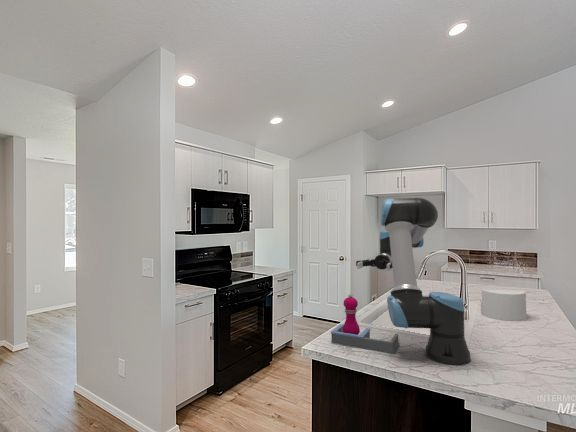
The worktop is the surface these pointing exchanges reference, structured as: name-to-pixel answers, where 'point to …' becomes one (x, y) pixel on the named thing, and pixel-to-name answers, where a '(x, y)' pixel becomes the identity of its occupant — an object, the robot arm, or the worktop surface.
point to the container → (504, 304)
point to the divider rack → (363, 340)
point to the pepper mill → (351, 316)
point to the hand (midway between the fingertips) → (372, 266)
